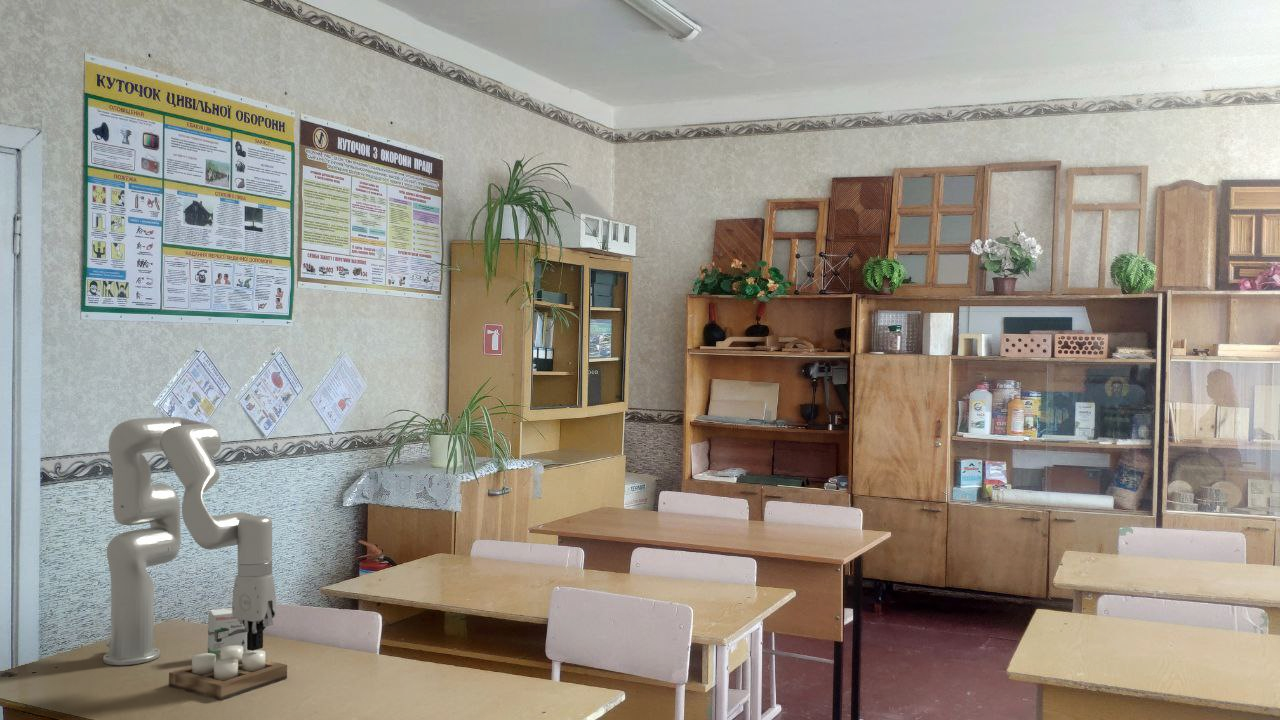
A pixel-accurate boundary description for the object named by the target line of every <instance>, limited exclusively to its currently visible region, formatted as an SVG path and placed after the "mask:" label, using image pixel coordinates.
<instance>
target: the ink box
mask: <svg viewBox="0 0 1280 720" xmlns="http://www.w3.org/2000/svg"><path fill="white" fill-rule="evenodd" d="M207 619H208V624H207V625H208V627H207V653H213V654H215V655H216V659H217V658H220V651H221V648H223V647H226V646H233V645H238V646H243V653H244V652H247V651H248V650H247V633H248V632H246V631H245V626H244V624H243V623H241V622H240V621H238V619H237V618H235V617H233V615H232V607H229V608H218V609H210V610H209V611H208V618H207Z"/></svg>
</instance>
